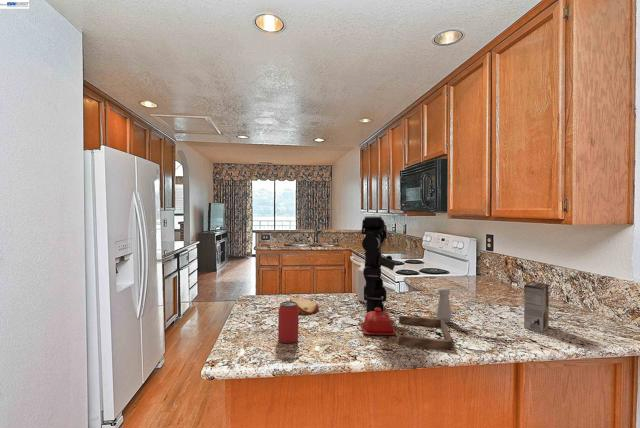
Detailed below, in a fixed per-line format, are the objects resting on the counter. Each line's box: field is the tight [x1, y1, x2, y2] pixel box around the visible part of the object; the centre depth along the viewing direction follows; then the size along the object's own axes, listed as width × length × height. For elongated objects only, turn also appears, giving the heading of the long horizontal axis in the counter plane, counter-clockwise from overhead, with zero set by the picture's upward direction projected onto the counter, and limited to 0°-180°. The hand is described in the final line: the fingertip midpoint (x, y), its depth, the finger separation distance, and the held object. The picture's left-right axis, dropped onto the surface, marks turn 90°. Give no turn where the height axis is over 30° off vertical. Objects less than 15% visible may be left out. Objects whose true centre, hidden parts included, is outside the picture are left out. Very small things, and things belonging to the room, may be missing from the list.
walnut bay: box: [397, 314, 453, 351], centre depth 110 cm, size 16×22×2 cm
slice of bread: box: [289, 297, 320, 316], centre depth 140 cm, size 18×18×4 cm
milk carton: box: [357, 260, 367, 304], centre depth 152 cm, size 7×7×19 cm
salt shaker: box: [435, 287, 453, 324], centre depth 124 cm, size 6×6×13 cm
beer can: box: [277, 300, 300, 344], centre depth 104 cm, size 7×7×12 cm
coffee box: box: [523, 281, 550, 333], centre depth 118 cm, size 9×6×16 cm
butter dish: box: [360, 307, 397, 336], centre depth 113 cm, size 12×12×8 cm
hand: (372, 290), depth 119 cm, fingers open, 9 cm apart
